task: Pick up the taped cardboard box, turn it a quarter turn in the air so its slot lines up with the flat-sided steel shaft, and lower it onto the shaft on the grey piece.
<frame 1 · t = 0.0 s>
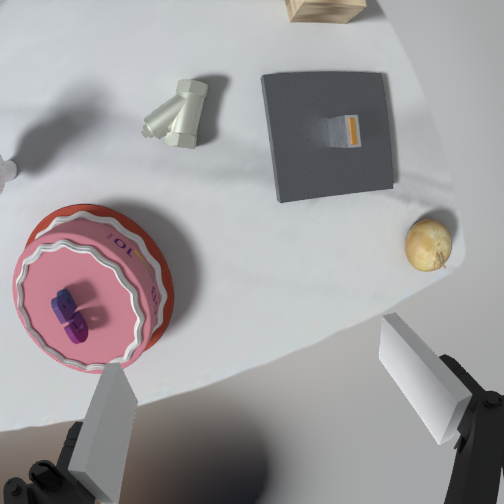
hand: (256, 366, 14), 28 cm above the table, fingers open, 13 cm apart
pipe fitting: (175, 114, 36), on the table
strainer: (10, 170, 34), on the table
cake: (92, 288, 42), on the table
grey piece: (329, 133, 38), on the table
onion: (417, 239, 45), on the table
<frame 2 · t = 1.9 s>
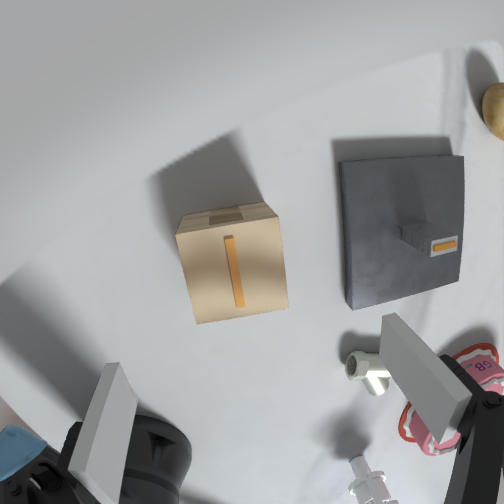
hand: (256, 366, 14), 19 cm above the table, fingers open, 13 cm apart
pipe fitting: (366, 366, 40), on the table
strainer: (356, 459, 48), on the table
cake: (451, 396, 47), on the table
grey piece: (405, 226, 33), on the table
taped cardboard box: (230, 247, 32), on the table
onion: (490, 111, 30), on the table
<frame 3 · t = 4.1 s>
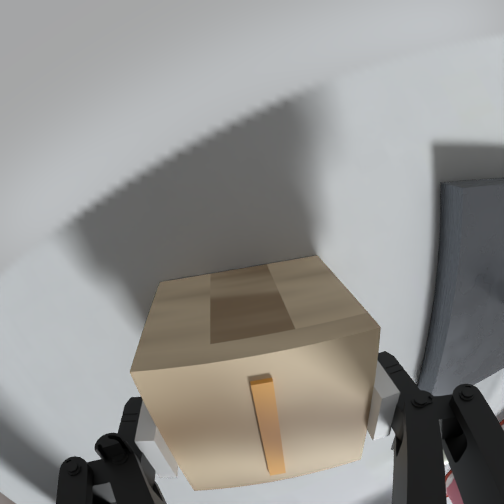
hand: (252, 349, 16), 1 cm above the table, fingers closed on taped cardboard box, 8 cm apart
cake: (493, 449, 32), on the table
taped cardboard box: (249, 335, 17), on the table, touching gripper
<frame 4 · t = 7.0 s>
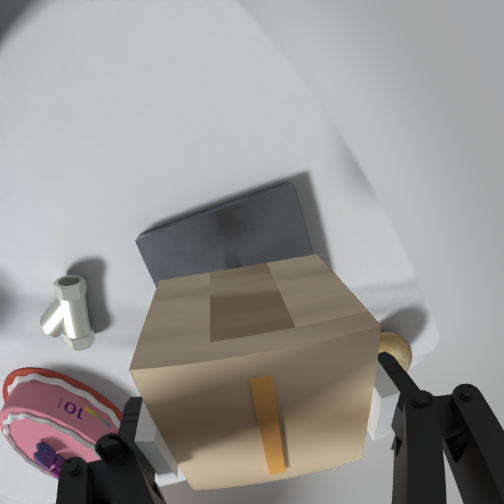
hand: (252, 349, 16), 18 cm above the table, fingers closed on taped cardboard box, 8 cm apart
pipe fitting: (68, 303, 33), on the table
cake: (66, 422, 40), on the table
grey piece: (238, 277, 34), on the table
taped cardboard box: (249, 334, 17), point 17 cm above the table, touching gripper
onion: (373, 346, 40), on the table
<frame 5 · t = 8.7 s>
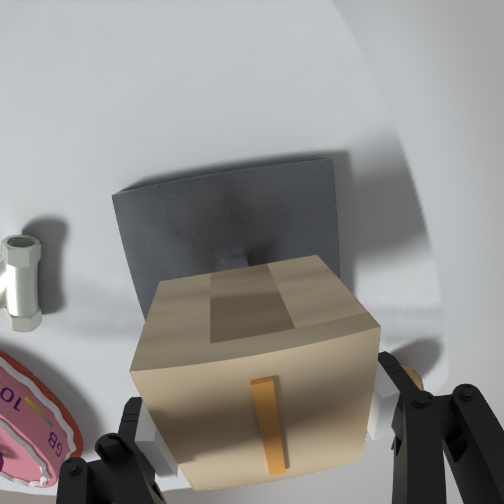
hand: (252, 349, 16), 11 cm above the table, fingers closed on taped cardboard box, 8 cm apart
pipe fitting: (18, 270, 24), on the table
cake: (6, 408, 29), on the table
grey piece: (236, 270, 26), on the table
taped cardboard box: (249, 335, 17), point 9 cm above the table, touching gripper
when the fingers open (6 cm above the table, at t = 10.1 s): taped cardboard box drops 2 cm, resting on grey piece.
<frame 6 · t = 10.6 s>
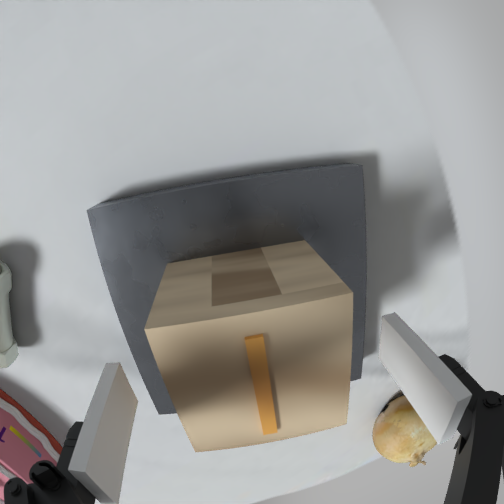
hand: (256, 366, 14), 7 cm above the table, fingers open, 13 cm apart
grey piece: (242, 298, 21), on the table
taped cardboard box: (246, 312, 19), point 2 cm above the table, touching grey piece
onion: (397, 408, 28), on the table
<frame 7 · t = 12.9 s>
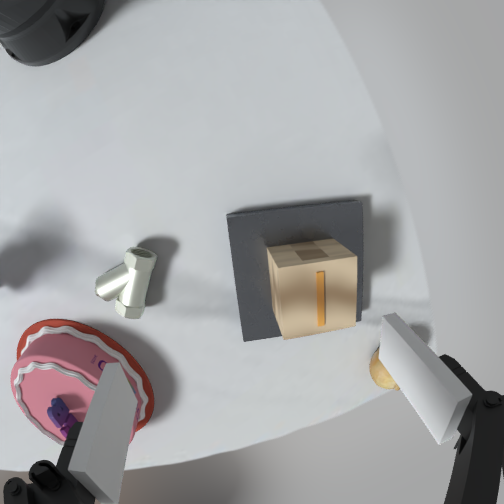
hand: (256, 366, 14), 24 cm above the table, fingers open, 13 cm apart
pipe fitting: (127, 273, 38), on the table
cake: (81, 384, 42), on the table
grey piece: (298, 269, 40), on the table
taped cardboard box: (302, 274, 38), point 2 cm above the table, touching grey piece
onion: (385, 353, 46), on the table
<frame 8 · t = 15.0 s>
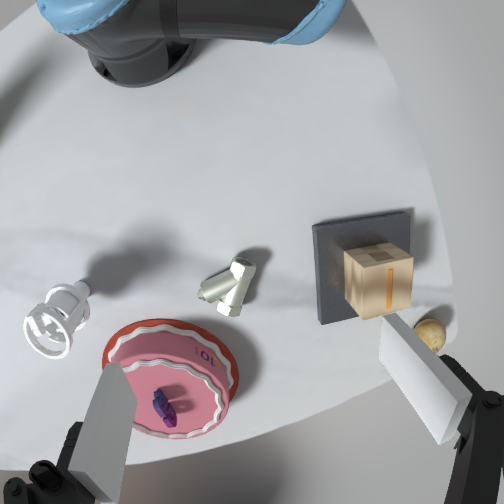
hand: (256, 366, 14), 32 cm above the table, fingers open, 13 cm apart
pipe fitting: (224, 278, 48), on the table
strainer: (81, 289, 45), on the table
cake: (169, 376, 53), on the table
grey piece: (362, 266, 49), on the table
taped cardboard box: (367, 270, 47), point 2 cm above the table, touching grey piece
onion: (419, 330, 56), on the table
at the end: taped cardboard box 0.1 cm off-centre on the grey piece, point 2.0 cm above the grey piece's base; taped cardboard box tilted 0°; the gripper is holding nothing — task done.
